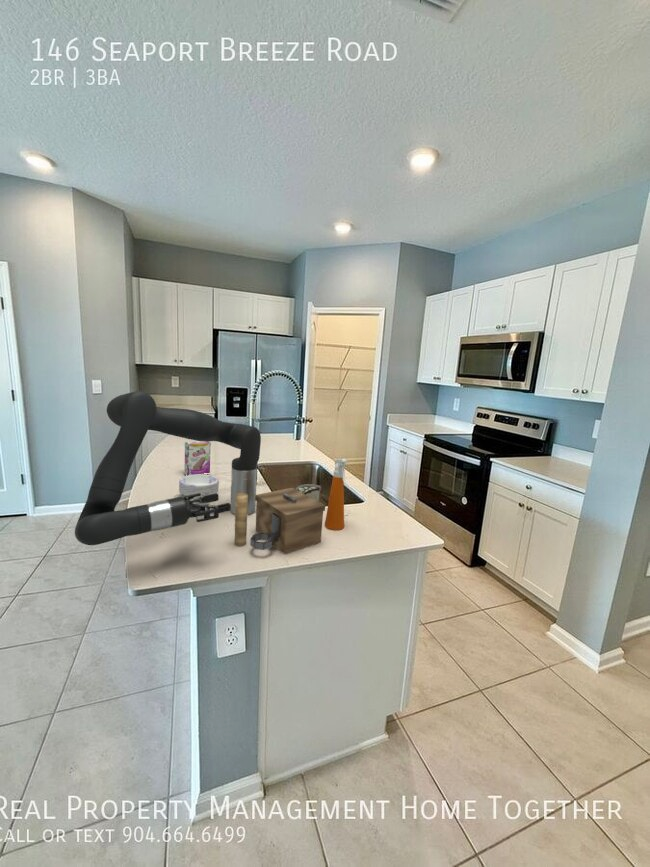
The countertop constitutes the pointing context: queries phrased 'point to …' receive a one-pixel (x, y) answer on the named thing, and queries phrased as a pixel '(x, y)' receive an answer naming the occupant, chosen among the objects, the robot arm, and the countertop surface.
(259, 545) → the hasp
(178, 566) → the countertop surface
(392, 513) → the countertop surface
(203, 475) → the paper bowls
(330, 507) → the spray bottle
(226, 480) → the countertop surface
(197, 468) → the candy bar box
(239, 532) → the tan wooden cylinder
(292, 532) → the toolbox
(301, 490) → the food container
